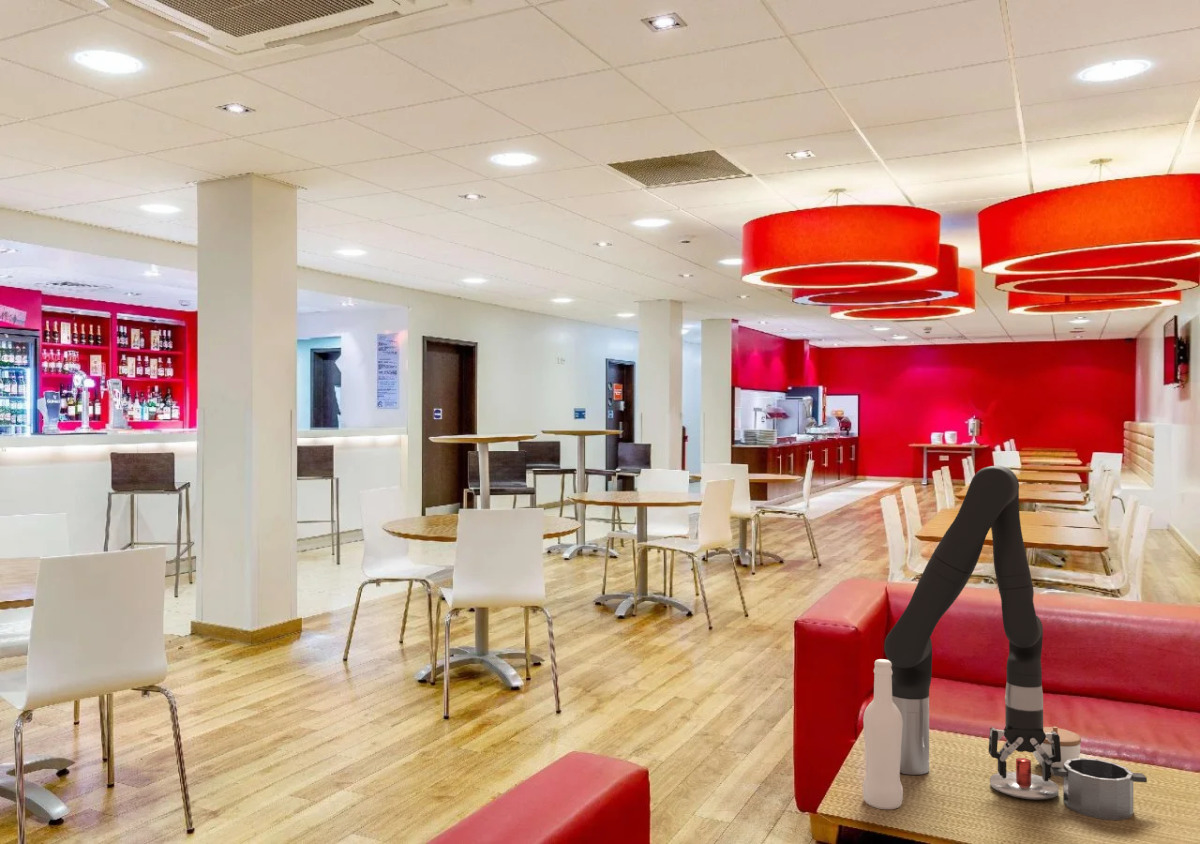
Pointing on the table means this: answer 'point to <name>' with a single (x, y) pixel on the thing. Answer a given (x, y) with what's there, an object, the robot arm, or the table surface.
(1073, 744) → the lidded jar
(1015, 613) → the robot arm
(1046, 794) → the lid
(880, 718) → the bottle
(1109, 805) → the pot
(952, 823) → the table surface
